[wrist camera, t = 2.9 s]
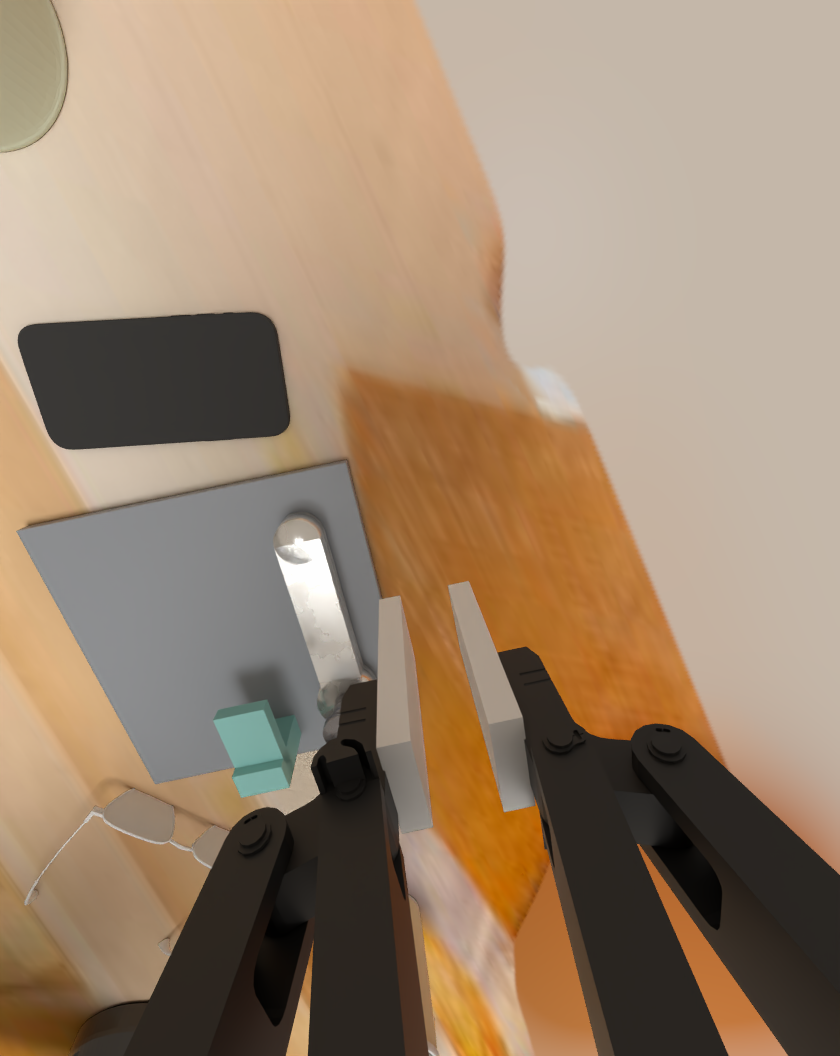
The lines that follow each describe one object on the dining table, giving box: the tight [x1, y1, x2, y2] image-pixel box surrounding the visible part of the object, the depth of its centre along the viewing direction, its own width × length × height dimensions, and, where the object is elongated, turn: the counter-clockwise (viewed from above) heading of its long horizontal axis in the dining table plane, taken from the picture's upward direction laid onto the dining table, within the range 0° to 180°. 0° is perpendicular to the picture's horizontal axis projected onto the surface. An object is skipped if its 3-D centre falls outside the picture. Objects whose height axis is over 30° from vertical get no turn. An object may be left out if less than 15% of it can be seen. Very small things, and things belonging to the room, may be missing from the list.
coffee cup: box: [408, 895, 439, 1056], centre depth 41 cm, size 9×9×12 cm
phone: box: [18, 312, 290, 449], centre depth 28 cm, size 7×1×15 cm
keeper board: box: [16, 460, 382, 798], centre depth 31 cm, size 22×23×6 cm
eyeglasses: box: [24, 788, 229, 956], centre depth 41 cm, size 15×18×4 cm
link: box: [273, 511, 377, 743], centre depth 31 cm, size 17×4×5 cm, turn 11°
